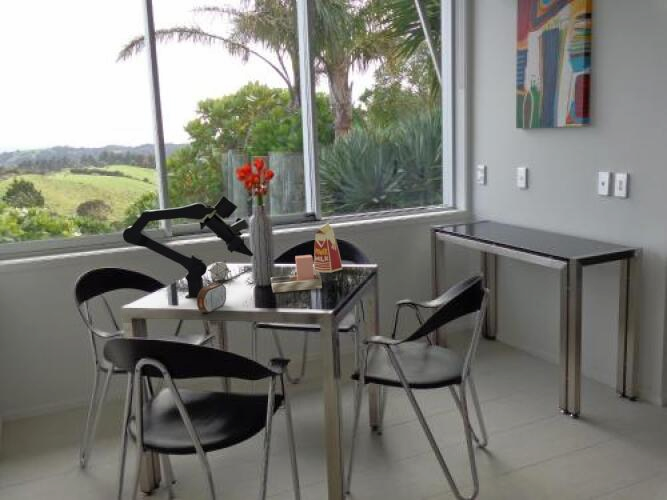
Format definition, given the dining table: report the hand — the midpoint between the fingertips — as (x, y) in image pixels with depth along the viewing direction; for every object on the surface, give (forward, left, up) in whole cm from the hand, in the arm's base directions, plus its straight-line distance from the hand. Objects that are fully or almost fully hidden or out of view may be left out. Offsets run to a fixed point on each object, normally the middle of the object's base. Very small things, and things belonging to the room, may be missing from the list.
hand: (252, 255), depth 246 cm
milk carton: (+33, -21, -13) cm, 42 cm away
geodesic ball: (+19, +21, -13) cm, 31 cm away
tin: (-27, +7, -14) cm, 31 cm away
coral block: (+6, -18, -12) cm, 22 cm away
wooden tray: (+5, -15, -13) cm, 20 cm away
